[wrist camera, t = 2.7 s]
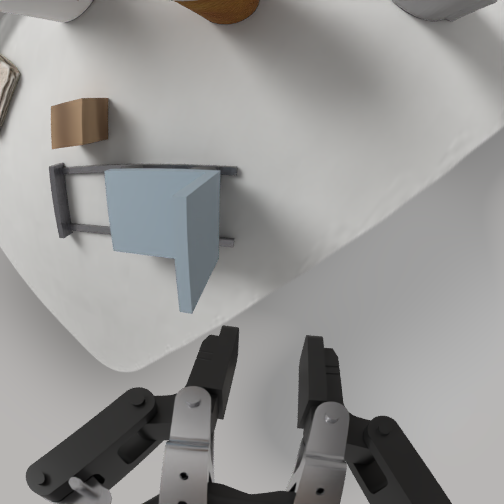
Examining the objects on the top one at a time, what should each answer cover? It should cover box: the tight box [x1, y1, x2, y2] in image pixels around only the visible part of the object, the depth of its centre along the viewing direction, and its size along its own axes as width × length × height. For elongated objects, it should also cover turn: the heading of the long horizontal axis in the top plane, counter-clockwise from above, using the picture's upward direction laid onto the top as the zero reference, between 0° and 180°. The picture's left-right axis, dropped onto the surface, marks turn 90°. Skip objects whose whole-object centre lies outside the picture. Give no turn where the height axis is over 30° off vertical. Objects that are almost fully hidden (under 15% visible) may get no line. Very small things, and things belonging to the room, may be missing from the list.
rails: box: [49, 163, 237, 247], centre depth 30 cm, size 24×10×2 cm, turn 86°
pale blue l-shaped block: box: [104, 165, 220, 314], centre depth 25 cm, size 12×9×12 cm
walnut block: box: [51, 98, 108, 149], centre depth 25 cm, size 5×5×5 cm
